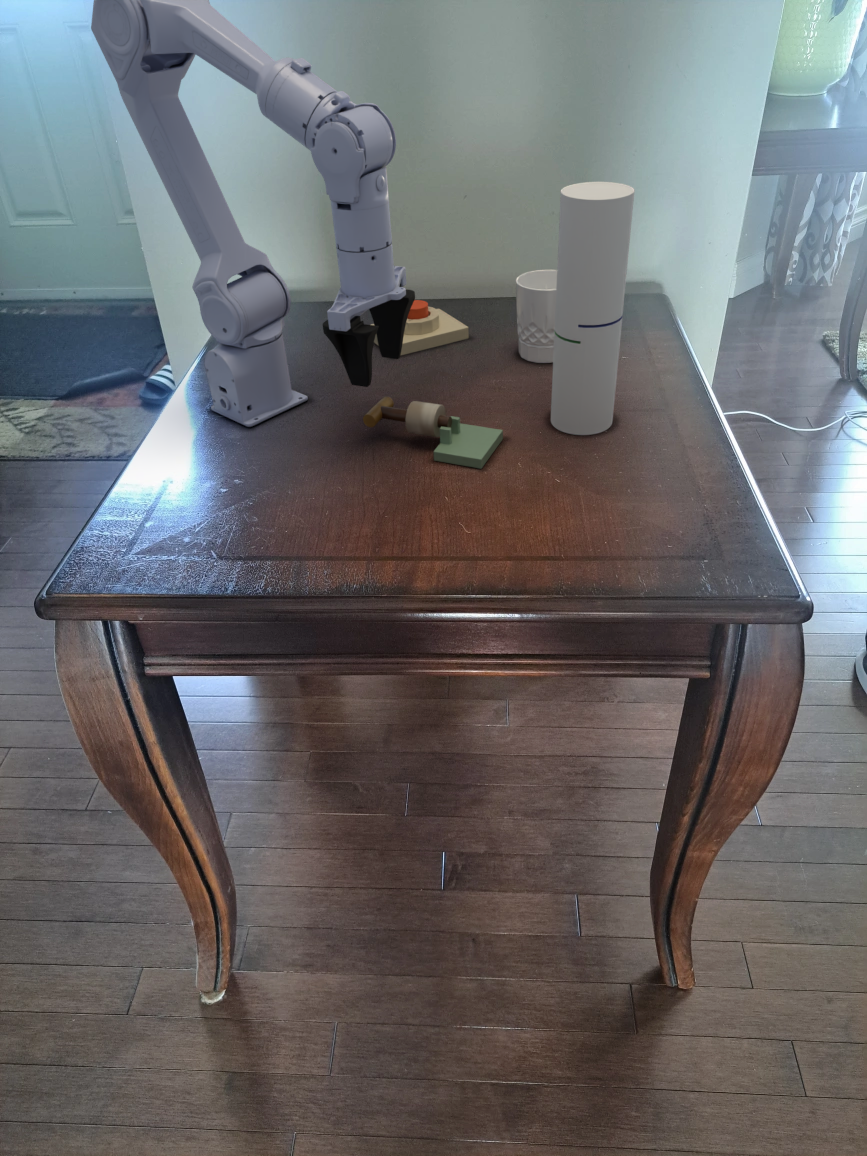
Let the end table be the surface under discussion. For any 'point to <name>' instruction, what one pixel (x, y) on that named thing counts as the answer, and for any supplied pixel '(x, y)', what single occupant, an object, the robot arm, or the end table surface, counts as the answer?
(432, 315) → the button box
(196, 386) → the end table surface
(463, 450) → the stand
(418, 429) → the t-handle lever
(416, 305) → the call button
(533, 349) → the white cup
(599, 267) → the cylindrical container
